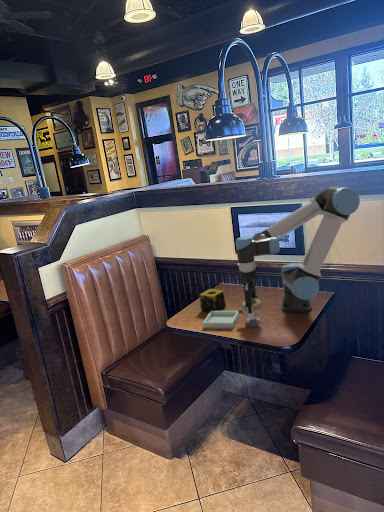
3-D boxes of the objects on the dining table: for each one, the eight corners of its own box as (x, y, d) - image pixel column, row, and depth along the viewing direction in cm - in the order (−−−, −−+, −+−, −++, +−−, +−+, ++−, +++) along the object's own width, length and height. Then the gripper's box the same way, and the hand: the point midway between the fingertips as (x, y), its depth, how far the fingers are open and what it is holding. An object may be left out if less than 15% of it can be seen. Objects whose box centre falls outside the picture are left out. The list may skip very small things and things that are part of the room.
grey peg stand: (260, 321, 183) (259, 310, 181) (258, 326, 177) (257, 315, 176) (247, 321, 185) (246, 310, 183) (245, 326, 179) (244, 315, 178)
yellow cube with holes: (211, 305, 214) (209, 288, 212) (226, 307, 207) (224, 290, 205) (200, 311, 206) (198, 294, 204) (215, 314, 200) (213, 296, 198)
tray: (239, 316, 193) (239, 310, 192) (233, 328, 179) (232, 323, 178) (211, 316, 198) (210, 310, 197) (203, 328, 184) (202, 322, 183)
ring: (263, 308, 182) (262, 298, 181) (260, 315, 174) (259, 305, 173) (240, 309, 186) (239, 299, 185) (237, 316, 178) (235, 306, 177)
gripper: (243, 264, 186) (249, 306, 191) (234, 277, 166) (241, 324, 171) (258, 263, 184) (264, 306, 189) (251, 276, 164) (257, 324, 169)
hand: (253, 314), depth 180 cm, fingers closed on ring, 9 cm apart
